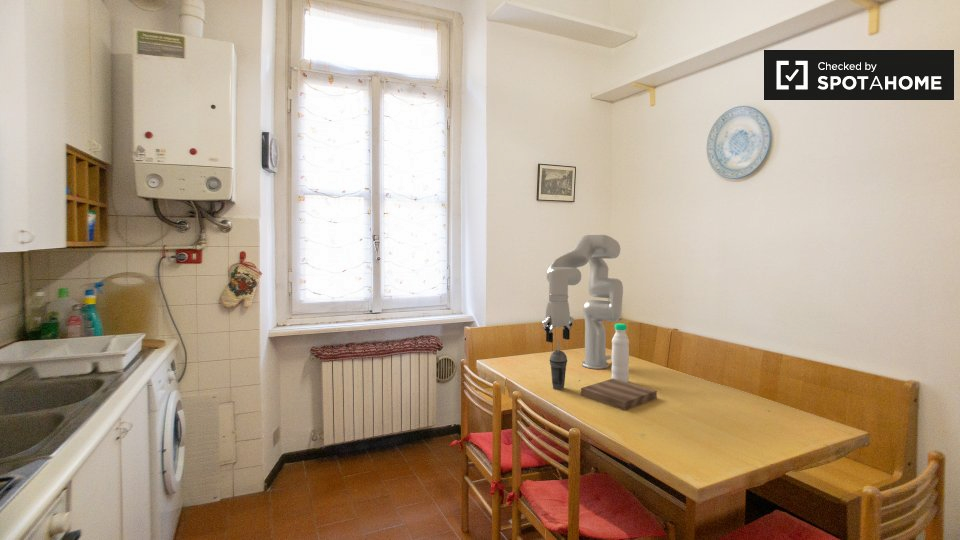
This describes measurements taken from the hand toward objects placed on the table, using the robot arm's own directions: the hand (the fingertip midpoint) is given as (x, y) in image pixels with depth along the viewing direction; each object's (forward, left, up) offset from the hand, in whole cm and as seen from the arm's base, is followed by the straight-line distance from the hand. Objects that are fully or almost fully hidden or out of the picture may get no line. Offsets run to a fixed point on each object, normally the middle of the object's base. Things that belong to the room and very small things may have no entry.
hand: (557, 340), depth 188 cm
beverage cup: (0, 0, -20) cm, 20 cm away
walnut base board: (-10, +22, -20) cm, 31 cm away
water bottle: (-26, +11, -20) cm, 35 cm away
